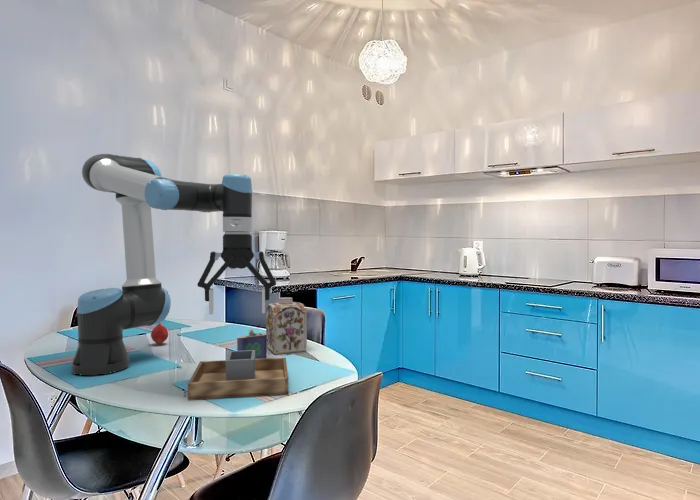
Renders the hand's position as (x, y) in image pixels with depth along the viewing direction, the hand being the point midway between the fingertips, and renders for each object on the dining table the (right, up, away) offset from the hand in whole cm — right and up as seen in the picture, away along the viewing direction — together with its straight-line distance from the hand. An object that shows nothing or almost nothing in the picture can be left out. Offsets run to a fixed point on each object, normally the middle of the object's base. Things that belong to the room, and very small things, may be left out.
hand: (237, 313), depth 124 cm
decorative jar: (+8, -18, +37) cm, 42 cm away
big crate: (+1, -19, 0) cm, 19 cm away
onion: (-39, -18, +44) cm, 62 cm away
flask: (0, -19, +19) cm, 26 cm away
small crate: (+1, -18, -1) cm, 18 cm away
